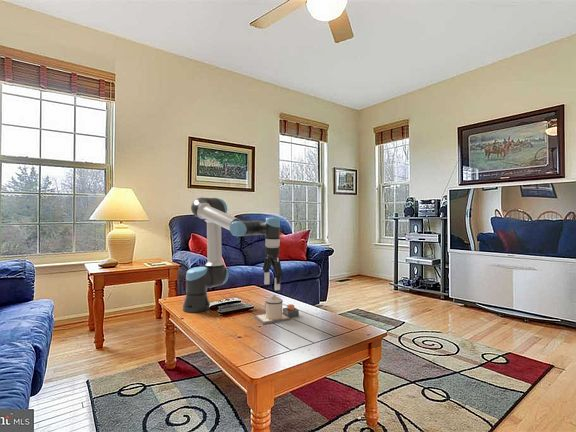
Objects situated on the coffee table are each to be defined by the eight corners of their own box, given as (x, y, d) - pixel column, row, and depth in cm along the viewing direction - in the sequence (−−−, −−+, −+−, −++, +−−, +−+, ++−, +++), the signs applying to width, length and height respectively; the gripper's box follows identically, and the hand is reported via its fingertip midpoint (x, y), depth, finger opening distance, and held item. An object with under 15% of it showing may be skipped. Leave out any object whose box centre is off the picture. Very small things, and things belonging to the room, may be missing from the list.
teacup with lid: (286, 317, 168) (286, 295, 168) (272, 321, 162) (272, 298, 162) (271, 312, 177) (271, 291, 177) (258, 315, 171) (258, 294, 171)
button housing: (282, 314, 176) (282, 308, 176) (293, 313, 179) (293, 306, 179) (288, 318, 170) (288, 311, 170) (298, 316, 173) (298, 309, 173)
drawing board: (254, 316, 172) (254, 315, 172) (280, 312, 179) (280, 311, 179) (263, 324, 160) (263, 322, 160) (290, 319, 167) (290, 318, 167)
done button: (286, 310, 175) (286, 304, 175) (292, 309, 177) (292, 304, 177) (289, 312, 172) (289, 306, 172) (295, 311, 174) (295, 305, 174)
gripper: (289, 249, 160) (288, 291, 160) (269, 244, 182) (269, 281, 182) (275, 250, 156) (275, 293, 157) (257, 244, 179) (256, 282, 179)
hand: (271, 287), depth 170 cm, fingers open, 13 cm apart
